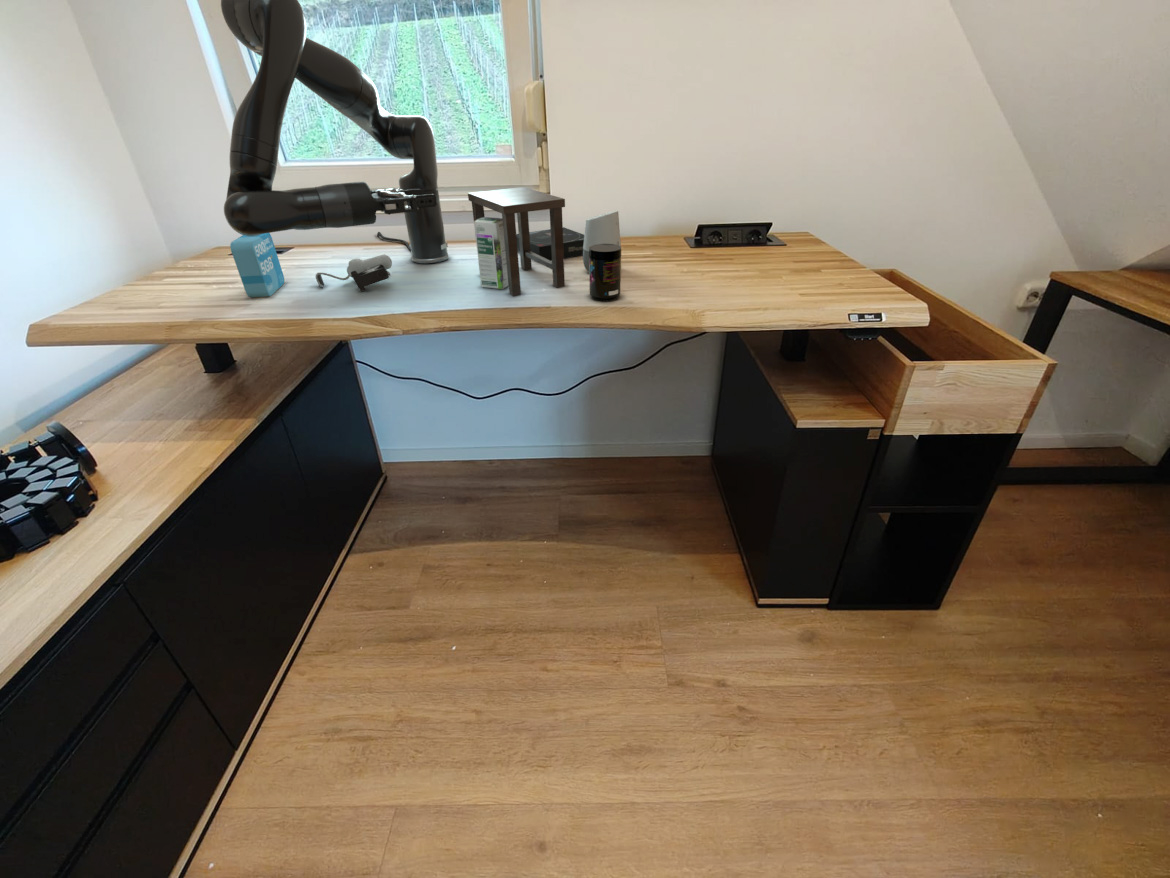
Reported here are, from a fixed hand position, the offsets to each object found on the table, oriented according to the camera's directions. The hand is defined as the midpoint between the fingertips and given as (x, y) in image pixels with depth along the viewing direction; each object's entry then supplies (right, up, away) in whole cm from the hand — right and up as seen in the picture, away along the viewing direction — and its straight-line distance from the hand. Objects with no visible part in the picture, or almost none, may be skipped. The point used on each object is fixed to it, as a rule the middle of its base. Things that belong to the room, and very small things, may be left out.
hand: (428, 197), depth 112 cm
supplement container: (+36, -18, +8) cm, 41 cm away
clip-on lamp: (-22, -13, +18) cm, 32 cm away
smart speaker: (+36, -8, +25) cm, 44 cm away
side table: (+16, -11, +19) cm, 28 cm away
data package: (-42, -15, +16) cm, 47 cm away
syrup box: (+11, -13, +16) cm, 24 cm away
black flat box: (+22, +3, +42) cm, 47 cm away
